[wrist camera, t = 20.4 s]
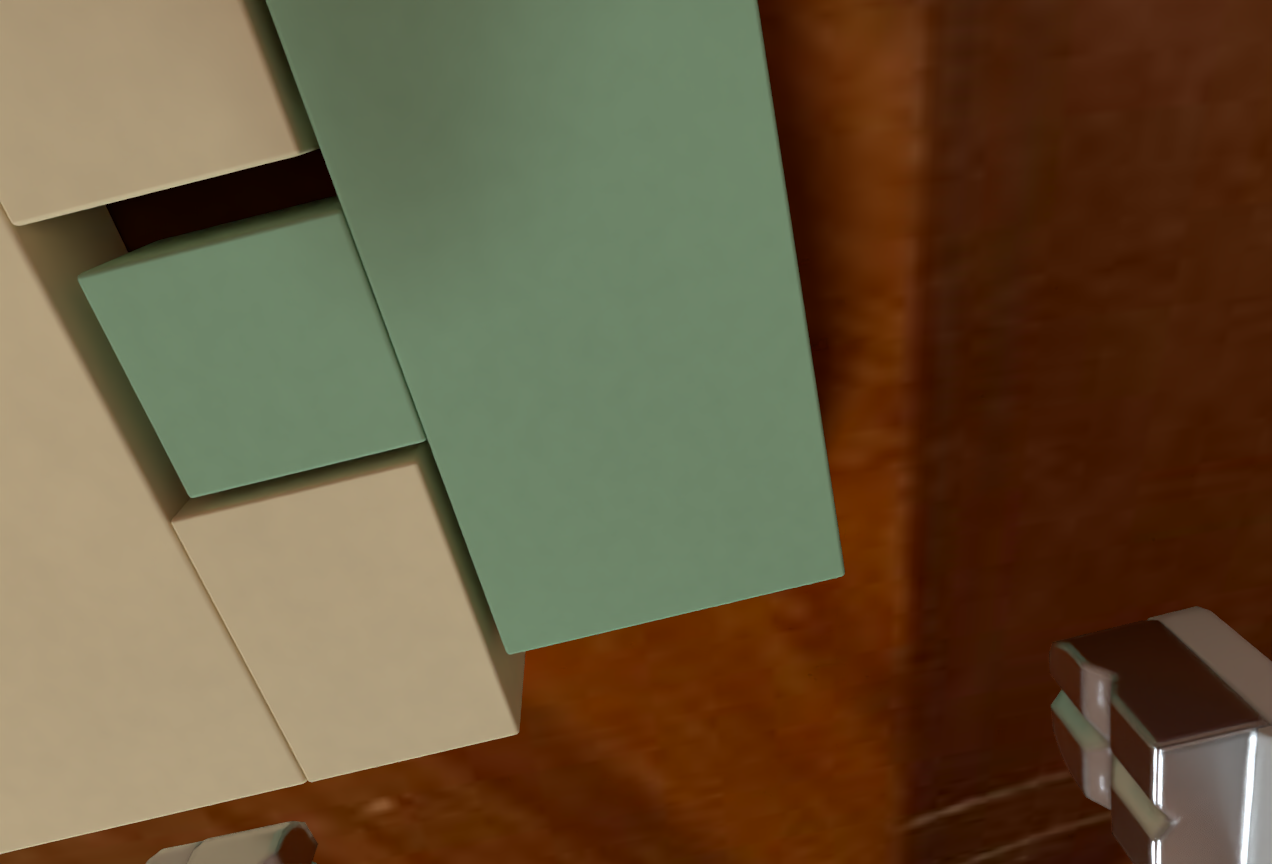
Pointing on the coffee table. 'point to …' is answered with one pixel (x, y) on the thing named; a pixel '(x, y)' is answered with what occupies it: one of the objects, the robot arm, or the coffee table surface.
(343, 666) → the beige pad
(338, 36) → the green pad
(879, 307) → the coffee table surface
